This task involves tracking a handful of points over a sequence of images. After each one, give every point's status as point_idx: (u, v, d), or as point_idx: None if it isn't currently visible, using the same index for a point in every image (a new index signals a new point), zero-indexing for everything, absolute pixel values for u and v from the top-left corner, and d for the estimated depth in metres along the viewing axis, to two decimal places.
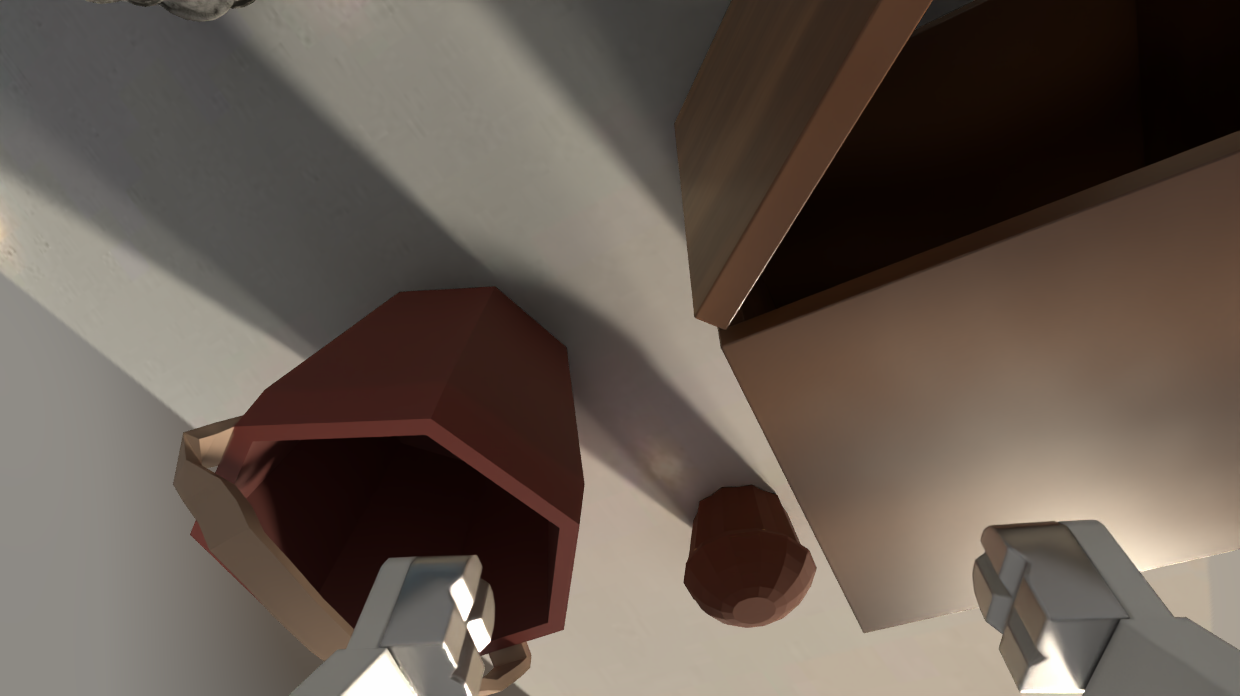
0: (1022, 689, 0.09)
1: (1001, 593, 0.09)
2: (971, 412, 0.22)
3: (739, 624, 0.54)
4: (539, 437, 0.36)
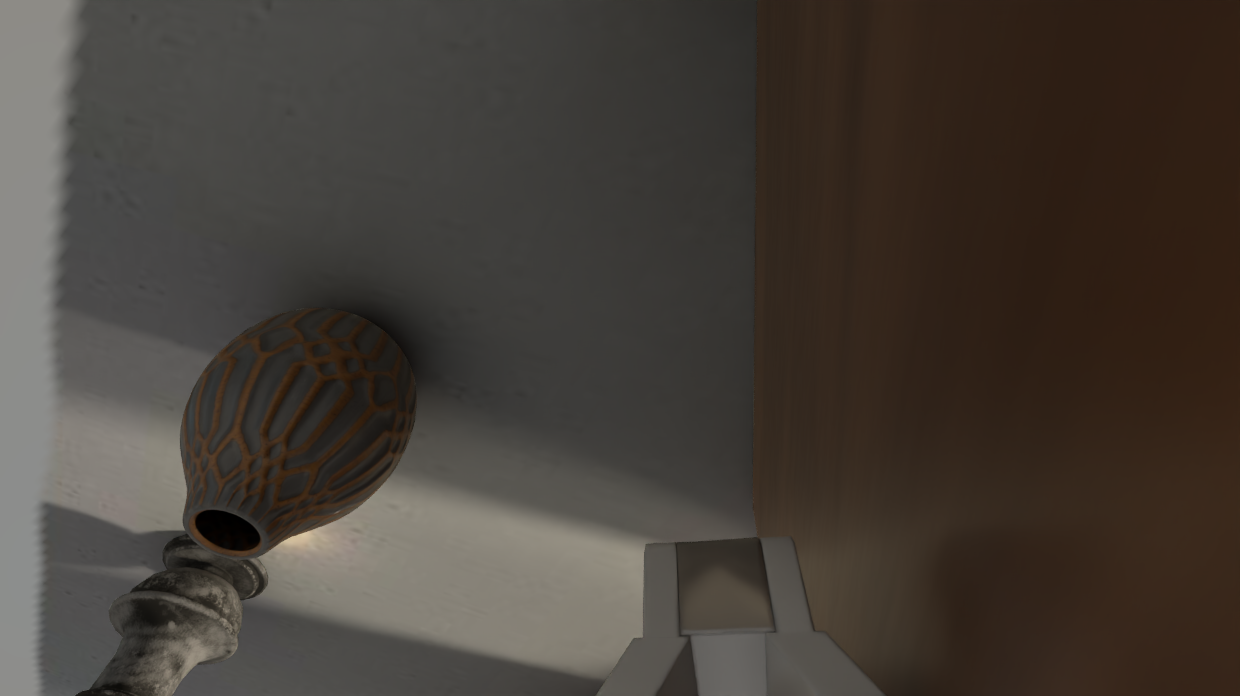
0: None
1: None
2: None
3: None
4: None
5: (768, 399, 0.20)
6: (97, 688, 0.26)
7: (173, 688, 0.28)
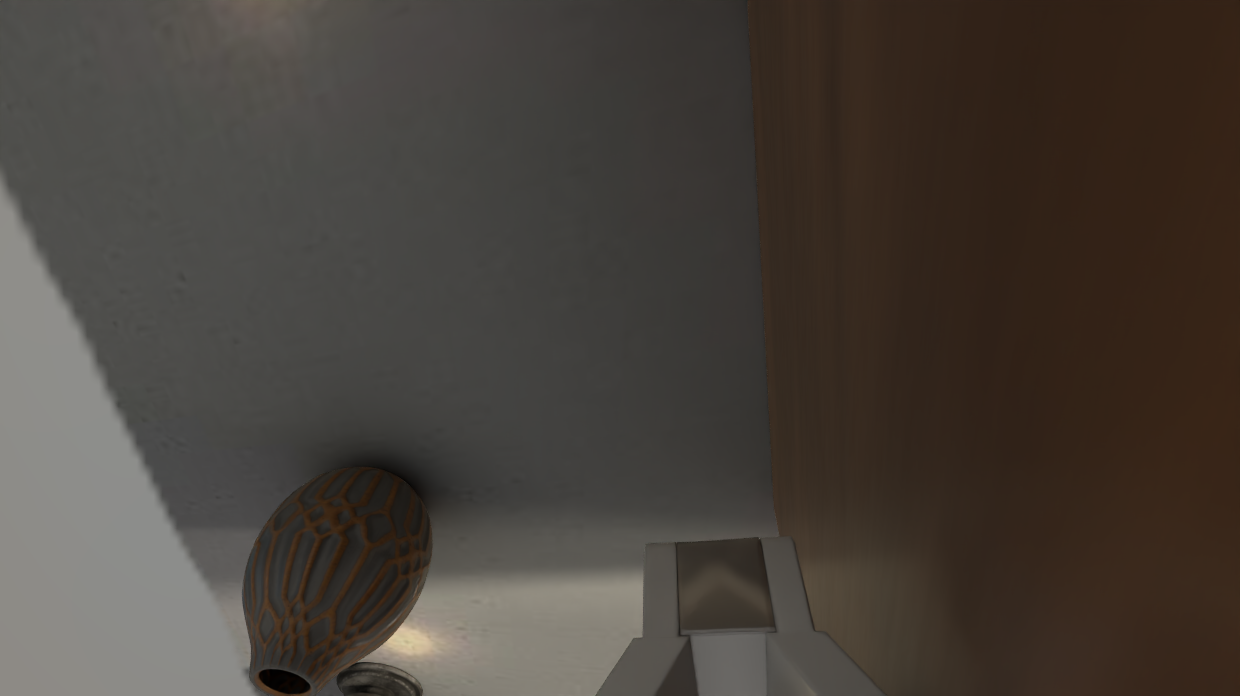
0: None
1: None
2: None
3: None
4: None
5: (780, 398, 0.20)
6: None
7: None
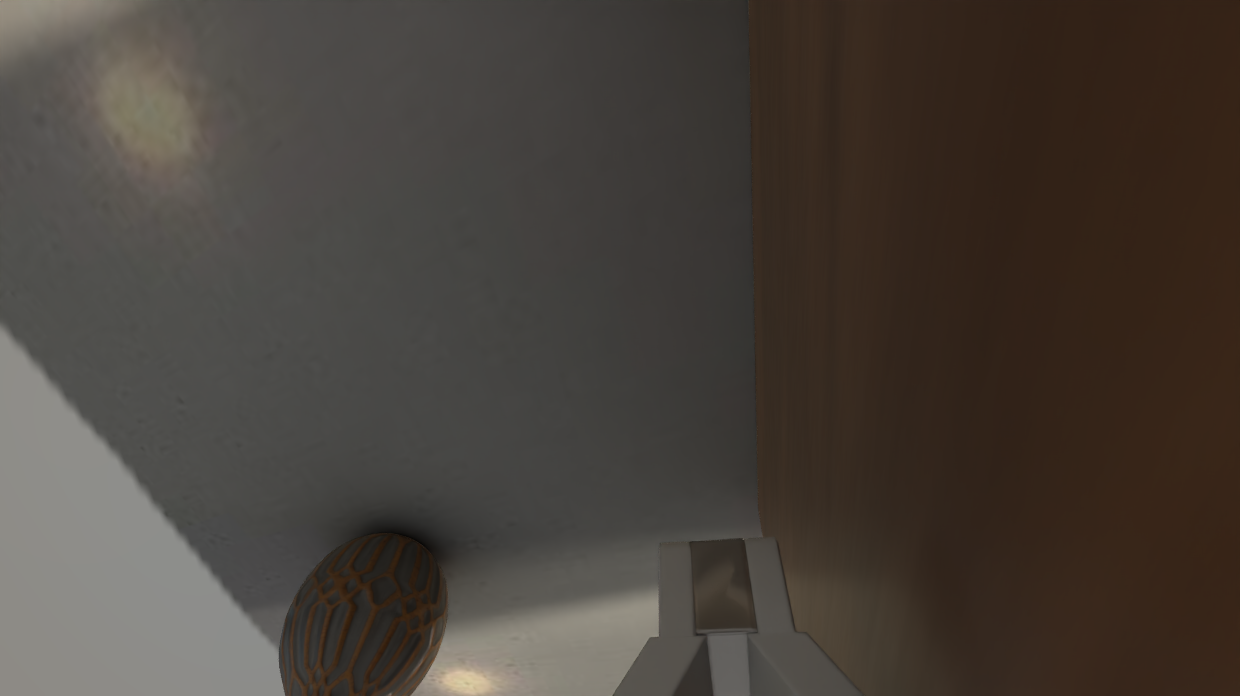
0: None
1: None
2: None
3: None
4: None
5: (768, 398, 0.20)
6: None
7: None
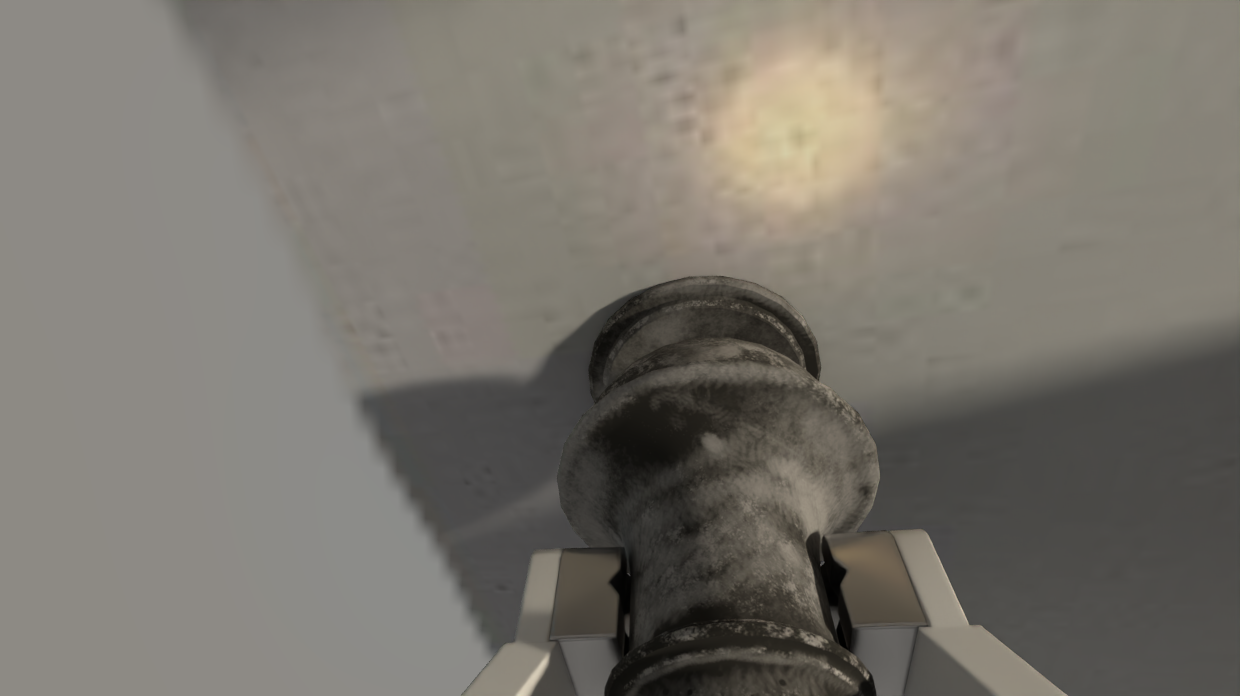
0: None
1: (834, 600, 0.10)
2: None
3: None
4: None
5: None
6: None
7: (825, 594, 0.09)
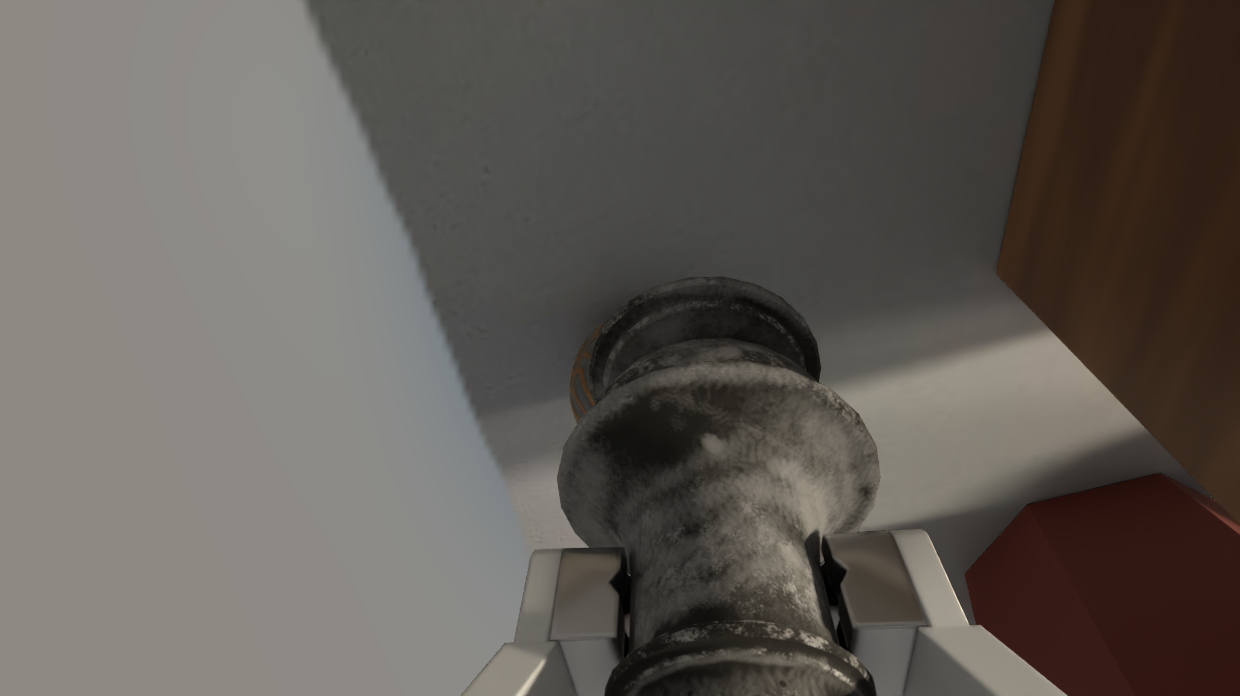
0: None
1: (835, 599, 0.10)
2: None
3: None
4: None
5: (1086, 98, 0.23)
6: None
7: (825, 595, 0.09)
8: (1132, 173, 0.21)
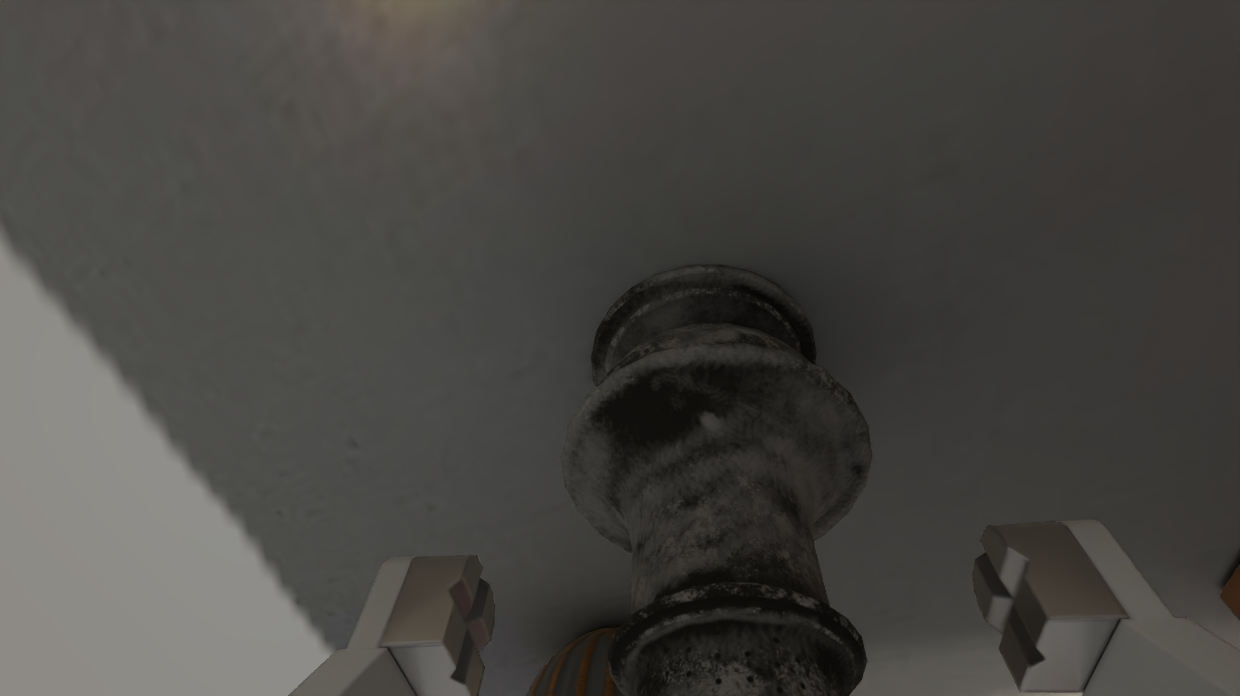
0: (1022, 689, 0.09)
1: (1001, 593, 0.09)
2: None
3: None
4: None
5: None
6: None
7: (818, 564, 0.10)
8: None
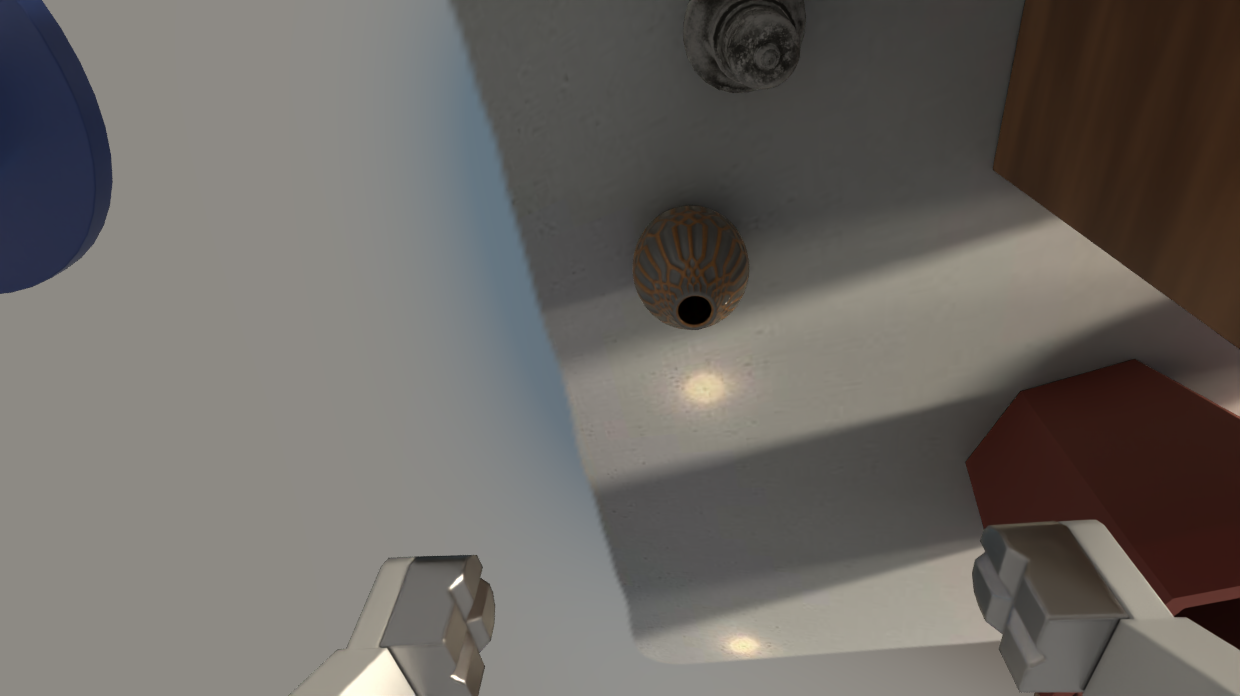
0: (1022, 689, 0.09)
1: (1001, 593, 0.09)
2: None
3: None
4: None
5: (1064, 1, 0.29)
6: None
7: None
8: (1099, 52, 0.27)
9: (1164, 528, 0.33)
